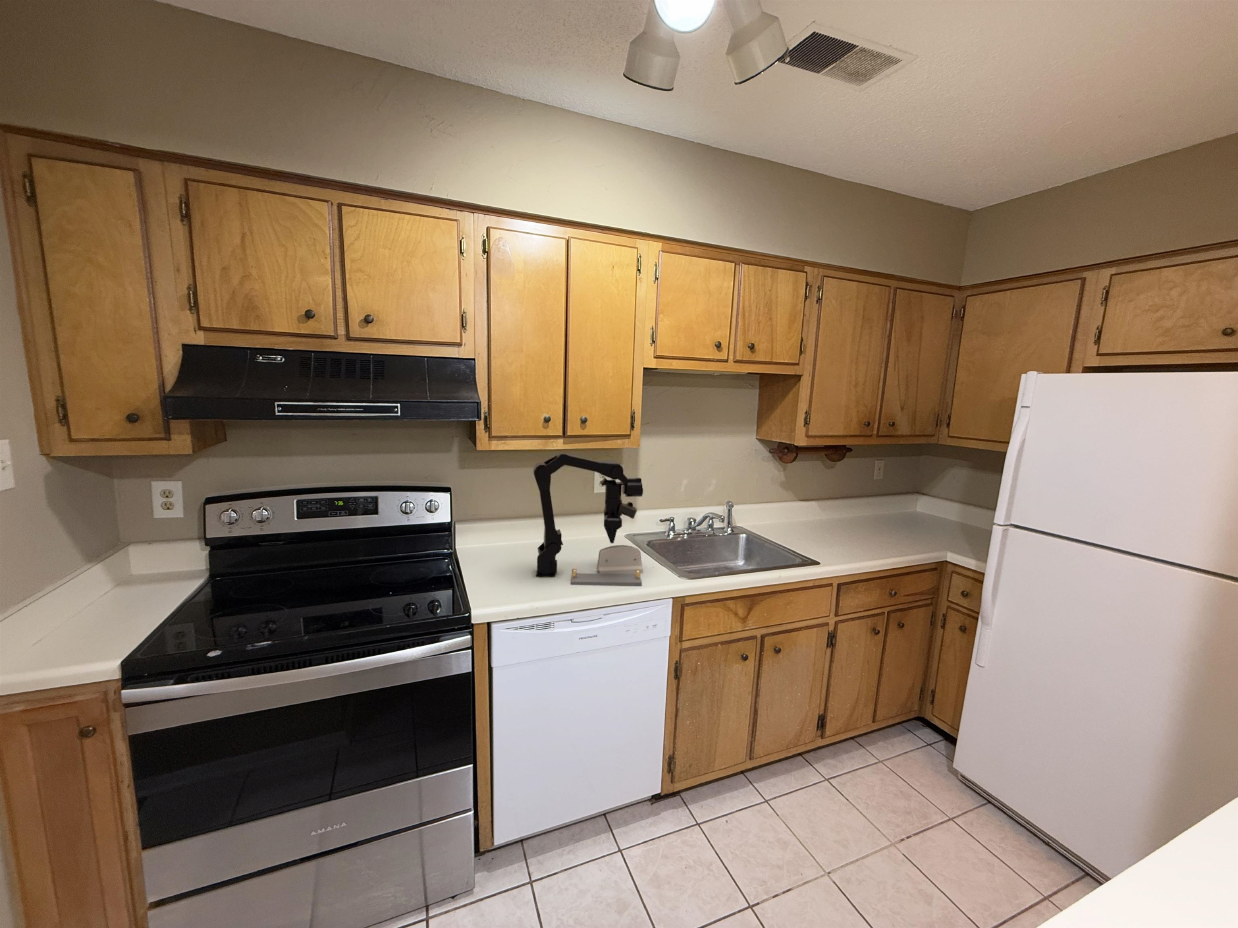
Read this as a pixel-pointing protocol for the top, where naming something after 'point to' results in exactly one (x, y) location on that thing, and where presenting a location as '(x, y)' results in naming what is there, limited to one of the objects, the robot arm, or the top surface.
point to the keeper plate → (606, 579)
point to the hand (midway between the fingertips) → (611, 539)
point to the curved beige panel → (619, 560)
